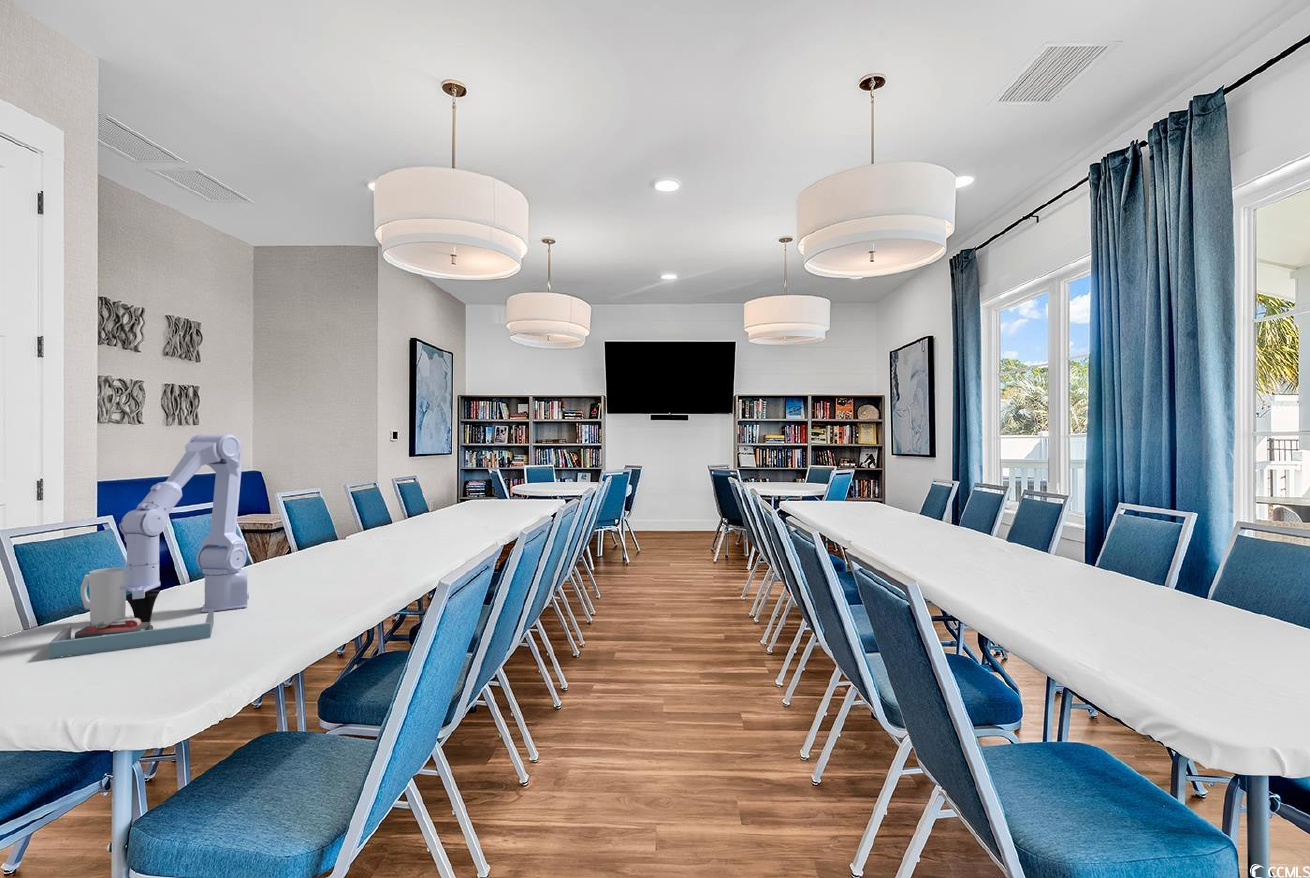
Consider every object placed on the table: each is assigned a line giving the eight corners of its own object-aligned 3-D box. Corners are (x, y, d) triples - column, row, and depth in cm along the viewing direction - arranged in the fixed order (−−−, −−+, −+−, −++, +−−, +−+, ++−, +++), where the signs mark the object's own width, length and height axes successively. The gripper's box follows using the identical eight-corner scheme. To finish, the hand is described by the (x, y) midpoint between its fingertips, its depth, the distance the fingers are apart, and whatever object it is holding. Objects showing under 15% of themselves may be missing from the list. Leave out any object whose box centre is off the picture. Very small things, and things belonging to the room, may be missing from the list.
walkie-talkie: (60, 652, 132) (175, 642, 138) (60, 630, 132) (175, 621, 138) (83, 639, 141) (191, 631, 147) (83, 619, 141) (191, 611, 147)
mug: (134, 617, 156) (134, 567, 156) (108, 625, 149) (108, 573, 149) (94, 617, 157) (94, 567, 157) (67, 624, 150) (67, 572, 150)
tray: (213, 623, 151) (213, 610, 151) (210, 637, 140) (210, 623, 140) (64, 642, 137) (64, 627, 137) (48, 658, 127) (48, 643, 127)
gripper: (125, 560, 149) (125, 619, 149) (114, 571, 137) (113, 636, 137) (164, 557, 153) (164, 615, 153) (156, 567, 140) (156, 630, 140)
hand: (143, 625), depth 145 cm, fingers closed
